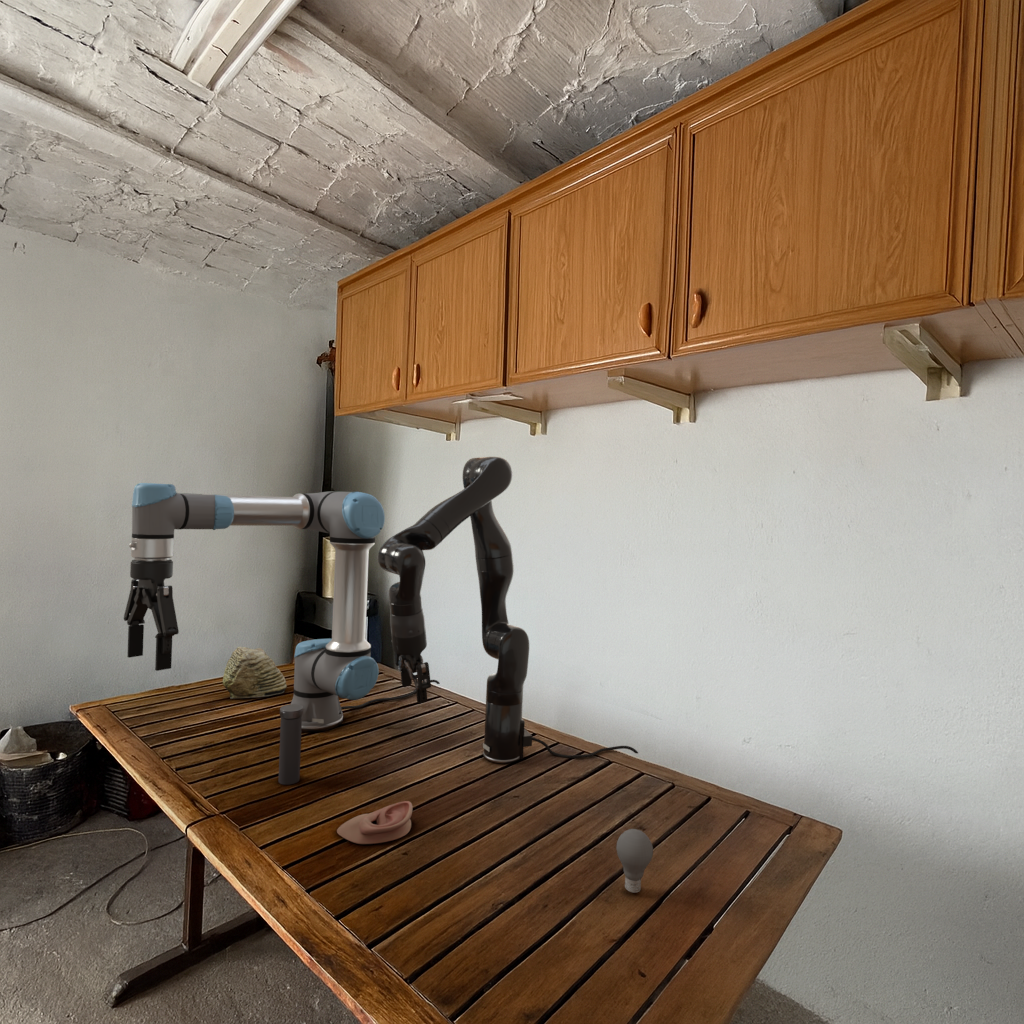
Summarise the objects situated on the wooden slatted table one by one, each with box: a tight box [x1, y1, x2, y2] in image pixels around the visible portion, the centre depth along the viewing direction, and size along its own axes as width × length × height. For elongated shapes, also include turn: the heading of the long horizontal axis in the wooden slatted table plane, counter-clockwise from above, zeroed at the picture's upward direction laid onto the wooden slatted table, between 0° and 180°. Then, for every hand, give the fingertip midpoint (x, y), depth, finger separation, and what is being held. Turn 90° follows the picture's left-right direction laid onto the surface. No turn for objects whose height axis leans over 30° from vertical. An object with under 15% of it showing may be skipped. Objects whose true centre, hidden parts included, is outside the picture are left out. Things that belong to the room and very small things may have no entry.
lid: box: [279, 703, 303, 719], centre depth 140 cm, size 5×5×2 cm
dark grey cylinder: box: [277, 716, 302, 786], centre depth 141 cm, size 4×4×16 cm
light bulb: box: [615, 828, 654, 894], centre depth 106 cm, size 6×6×10 cm
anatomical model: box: [336, 800, 414, 845], centre depth 121 cm, size 13×4×12 cm
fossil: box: [222, 646, 288, 699], centre depth 198 cm, size 9×18×15 cm, turn 132°
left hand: (148, 662), depth 129 cm, fingers open, 13 cm apart
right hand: (414, 693), depth 144 cm, fingers open, 8 cm apart
